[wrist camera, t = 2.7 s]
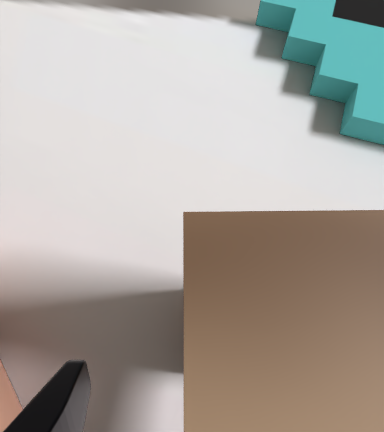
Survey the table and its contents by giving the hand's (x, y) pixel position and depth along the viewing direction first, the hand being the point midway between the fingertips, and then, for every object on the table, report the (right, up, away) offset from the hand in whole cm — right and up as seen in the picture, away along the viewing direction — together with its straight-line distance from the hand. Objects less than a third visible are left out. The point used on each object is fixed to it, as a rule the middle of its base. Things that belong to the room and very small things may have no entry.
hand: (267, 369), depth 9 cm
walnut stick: (0, -2, +9) cm, 9 cm away
